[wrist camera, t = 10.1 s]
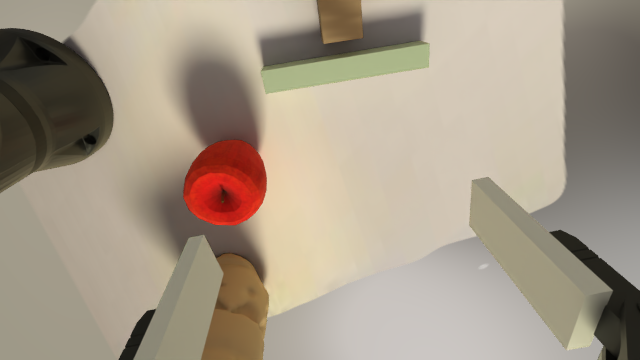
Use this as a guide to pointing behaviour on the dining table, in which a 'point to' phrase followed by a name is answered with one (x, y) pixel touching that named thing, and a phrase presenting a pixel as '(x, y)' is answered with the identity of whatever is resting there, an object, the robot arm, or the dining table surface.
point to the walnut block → (340, 20)
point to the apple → (226, 183)
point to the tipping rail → (345, 66)
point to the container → (237, 313)
